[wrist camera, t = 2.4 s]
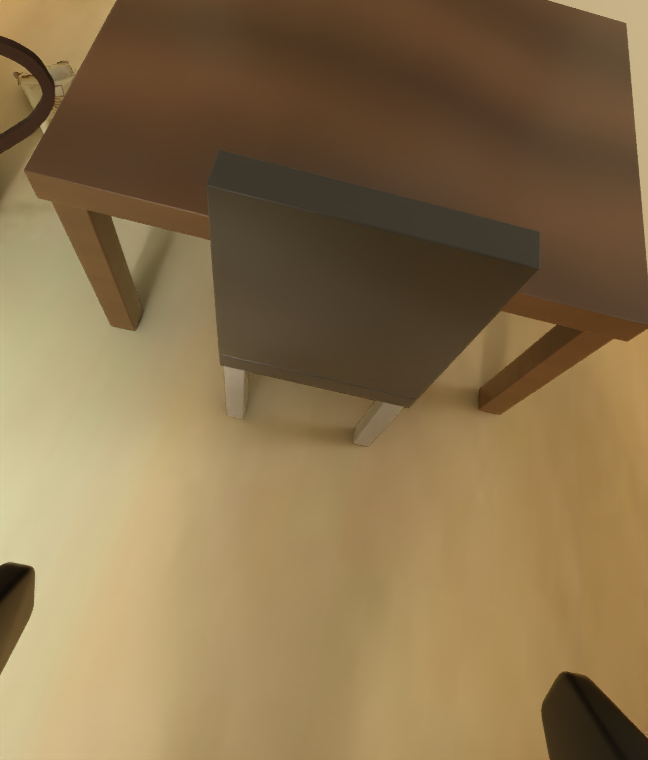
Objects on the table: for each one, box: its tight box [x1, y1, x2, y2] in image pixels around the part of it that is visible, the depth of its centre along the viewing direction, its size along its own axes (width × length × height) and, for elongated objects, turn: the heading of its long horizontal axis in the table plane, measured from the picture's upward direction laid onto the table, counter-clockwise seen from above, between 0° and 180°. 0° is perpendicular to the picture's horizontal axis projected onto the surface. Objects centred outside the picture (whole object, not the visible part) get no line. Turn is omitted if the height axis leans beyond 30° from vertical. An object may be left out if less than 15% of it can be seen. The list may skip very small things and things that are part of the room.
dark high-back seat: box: [206, 150, 541, 446], centre depth 19 cm, size 7×7×15 cm
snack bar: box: [13, 61, 75, 134], centre depth 28 cm, size 10×2×3 cm
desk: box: [24, 0, 648, 414], centre depth 24 cm, size 16×20×10 cm
